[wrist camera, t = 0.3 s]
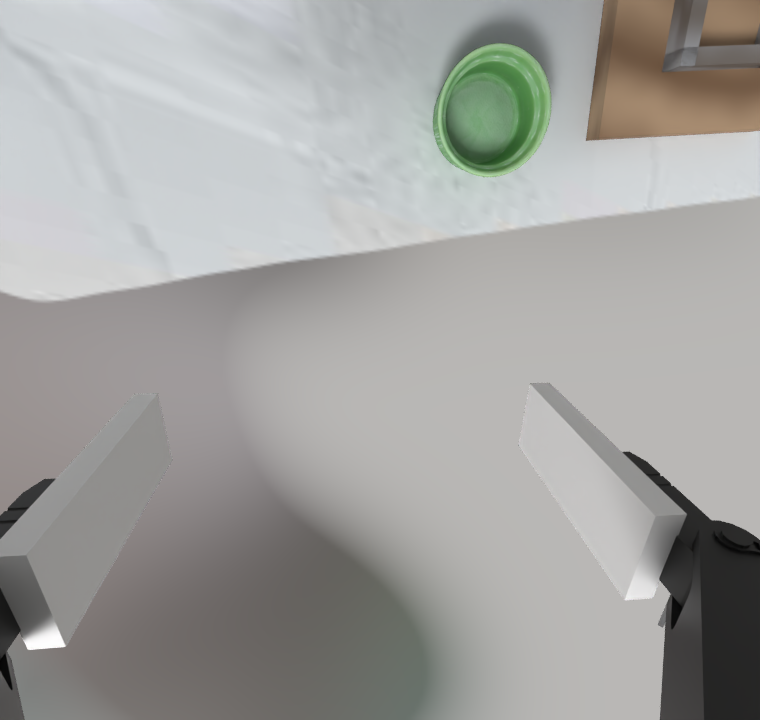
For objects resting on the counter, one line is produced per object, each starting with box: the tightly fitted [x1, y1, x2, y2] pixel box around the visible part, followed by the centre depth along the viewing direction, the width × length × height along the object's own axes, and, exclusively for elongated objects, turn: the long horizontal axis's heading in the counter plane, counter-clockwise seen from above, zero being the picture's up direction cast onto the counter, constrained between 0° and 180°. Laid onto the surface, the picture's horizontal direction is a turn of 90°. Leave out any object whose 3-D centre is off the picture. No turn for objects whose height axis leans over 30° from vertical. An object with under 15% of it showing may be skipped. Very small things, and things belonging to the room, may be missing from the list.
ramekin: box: [433, 43, 551, 177], centre depth 34 cm, size 9×9×4 cm
